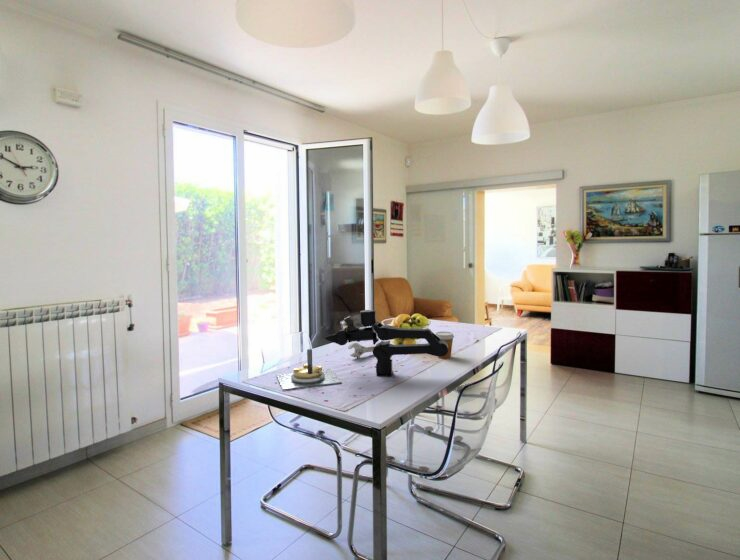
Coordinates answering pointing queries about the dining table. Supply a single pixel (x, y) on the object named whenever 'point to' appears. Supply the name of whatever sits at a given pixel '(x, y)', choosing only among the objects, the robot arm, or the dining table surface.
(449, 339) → the disposable coffee cup
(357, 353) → the wrench
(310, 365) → the brass chuck with rod
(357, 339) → the robot arm
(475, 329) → the dining table surface
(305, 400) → the dining table surface
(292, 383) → the gray metal base plate
